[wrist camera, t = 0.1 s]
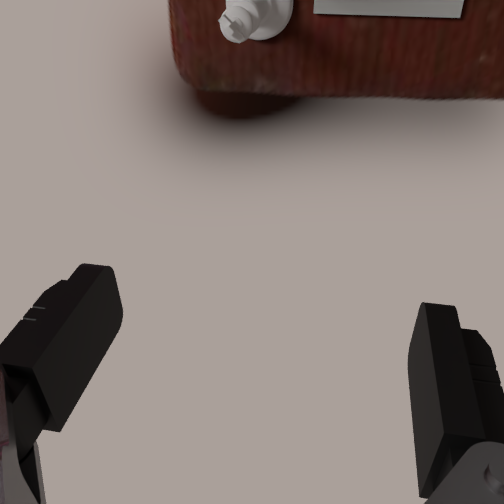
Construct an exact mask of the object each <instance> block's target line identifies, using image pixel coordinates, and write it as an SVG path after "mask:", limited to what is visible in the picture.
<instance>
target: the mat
mask: <svg viewBox="0 0 504 504" xmlns="http://www.w3.org/2000/svg"><path fill="white" fill-rule="evenodd" d="M463 2H464V0H314V14H347V15H379V16H412V17H445V18H460V15H461V11H462V7H463Z"/></svg>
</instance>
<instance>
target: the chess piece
mask: <svg viewBox="0 0 504 504" xmlns="http://www.w3.org/2000/svg"><path fill="white" fill-rule="evenodd" d="M292 10H293V0H226V10H225V11H224V12H223V14H222V16H221V18H220V19H219V20H218V21H219V22H220V27H221V31H222V33H223V35H224V36H225V37H226V38H227V39H228V40H230V41H232V42H235V43H240V42H243V41H245V40H246V39H248V38H250V39H253V40H265V39H269V38H271V37H274V36H276V35H277V34H279V33H280V32H281V31H282V30H283V29H284V28H285V27H286V25H287V24H288V22H289V20H290V17H291V15H292Z"/></svg>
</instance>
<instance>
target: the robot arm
mask: <svg viewBox="0 0 504 504" xmlns="http://www.w3.org/2000/svg"><path fill="white" fill-rule="evenodd" d="M122 318H123V308H122V304H121V300H120V296H119V291H118V287H117V282H116V278H115V274H114V271H113V269H112V268H111V267H110V266H103V265H94V264H85V263H84V264H81V265H79V267H78V268H77V269H76V270H75V271H74V273H73V274H72V275H71V276H70V278H69V279H68V280H61V281H59V282H58V283H56V284H55V285H53V286H52V287H50V288H49V289H47V290H46V291H44V293H43V294H42V295H41V296H40V297H39V299H38V300H37V301H36V302H35V303H34V304H33V308H30V309H29V310H28V312H27V313H26V314H25V315H24V317H23V320H20V321H19V322H18V324H17V325H16V326H15V327H14V329H13V330H12V331H11V332H10V333H9V335H8V336H7V337H6V338H5V339H4V341H3V342H2V343H1V344H0V504H46V500H45V493H44V485H43V479H42V471H41V464H40V457H39V450H38V445H37V442H36V439H37V438H38V436H39V434H40V433H41V431H42V430H49V431H55V432H60V431H61V430H62V428H63V426H64V425H65V423H66V421H67V419H68V418H69V416H70V414H71V412H72V411H73V409H74V407H75V406H76V404H77V402H78V400H79V399H80V397H81V395H82V393H83V392H84V390H85V388H86V387H87V385H88V383H89V381H90V380H91V378H92V376H93V374H94V373H95V371H96V369H97V368H98V366H99V364H100V362H101V361H102V359H103V357H104V355H105V354H106V352H107V350H108V349H109V347H110V345H111V343H112V342H113V340H114V338H115V336H116V334H117V333H118V331H119V329H120V327H121V323H122ZM408 378H409V389H410V400H411V411H412V421H413V433H414V443H415V453H416V465H417V476H418V487H419V497H421V498H426V499H428V500H427V501H426V502H425V503H424V504H504V393H503V389H502V387H501V386H500V383H501V382H500V378H499V375H498V371H496V364H495V361H494V357H493V354H492V350H491V347H490V346H489V345H488V344H487V342H486V341H485V340H484V339H483V337H482V336H481V335H480V334H479V332H478V331H477V330H470V329H462V328H461V327H460V322H459V319H458V314H457V310H456V308H455V306H451V305H442V304H432V303H424V302H422V303H421V305H420V308H419V312H418V316H417V319H416V323H415V327H414V331H413V335H412V339H411V342H410V347H409V353H408Z"/></svg>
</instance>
